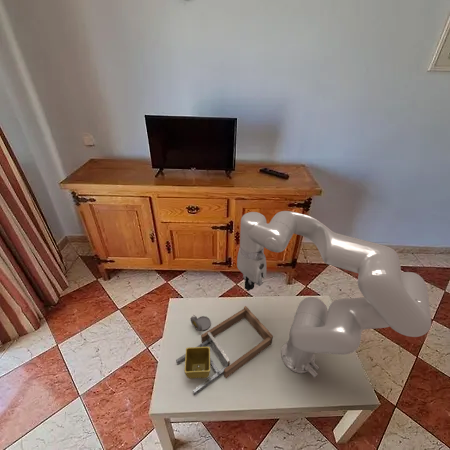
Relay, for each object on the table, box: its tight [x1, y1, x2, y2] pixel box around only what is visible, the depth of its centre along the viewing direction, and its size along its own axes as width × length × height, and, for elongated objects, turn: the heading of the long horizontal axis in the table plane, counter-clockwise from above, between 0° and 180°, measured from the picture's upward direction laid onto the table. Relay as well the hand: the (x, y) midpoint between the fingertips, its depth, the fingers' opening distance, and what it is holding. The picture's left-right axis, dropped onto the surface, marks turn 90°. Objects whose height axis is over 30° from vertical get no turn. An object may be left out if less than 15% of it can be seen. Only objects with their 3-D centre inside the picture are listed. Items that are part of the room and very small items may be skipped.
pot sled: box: [175, 332, 231, 396], centre depth 95 cm, size 14×15×7 cm
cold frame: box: [200, 305, 274, 379], centre depth 103 cm, size 17×23×6 cm
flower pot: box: [184, 346, 211, 380], centre depth 94 cm, size 9×9×9 cm
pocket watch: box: [189, 314, 212, 332], centre depth 108 cm, size 8×8×10 cm
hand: (249, 287), depth 92 cm, fingers closed
